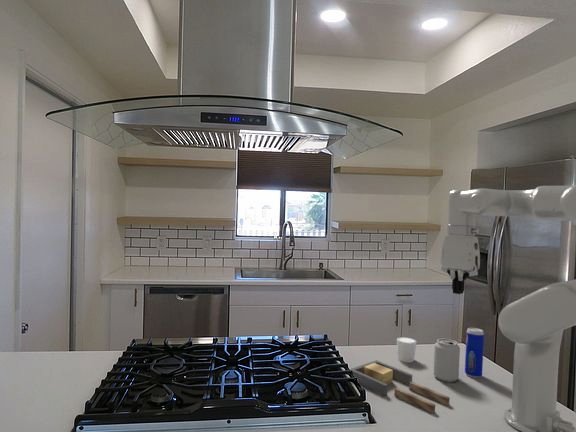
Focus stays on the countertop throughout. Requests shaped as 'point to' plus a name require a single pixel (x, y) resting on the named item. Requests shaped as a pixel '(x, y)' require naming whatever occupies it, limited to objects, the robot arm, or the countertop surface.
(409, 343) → the white tapered cylinder
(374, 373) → the ochre block
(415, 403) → the chute
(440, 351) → the can
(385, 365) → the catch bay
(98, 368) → the countertop surface
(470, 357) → the beverage can
